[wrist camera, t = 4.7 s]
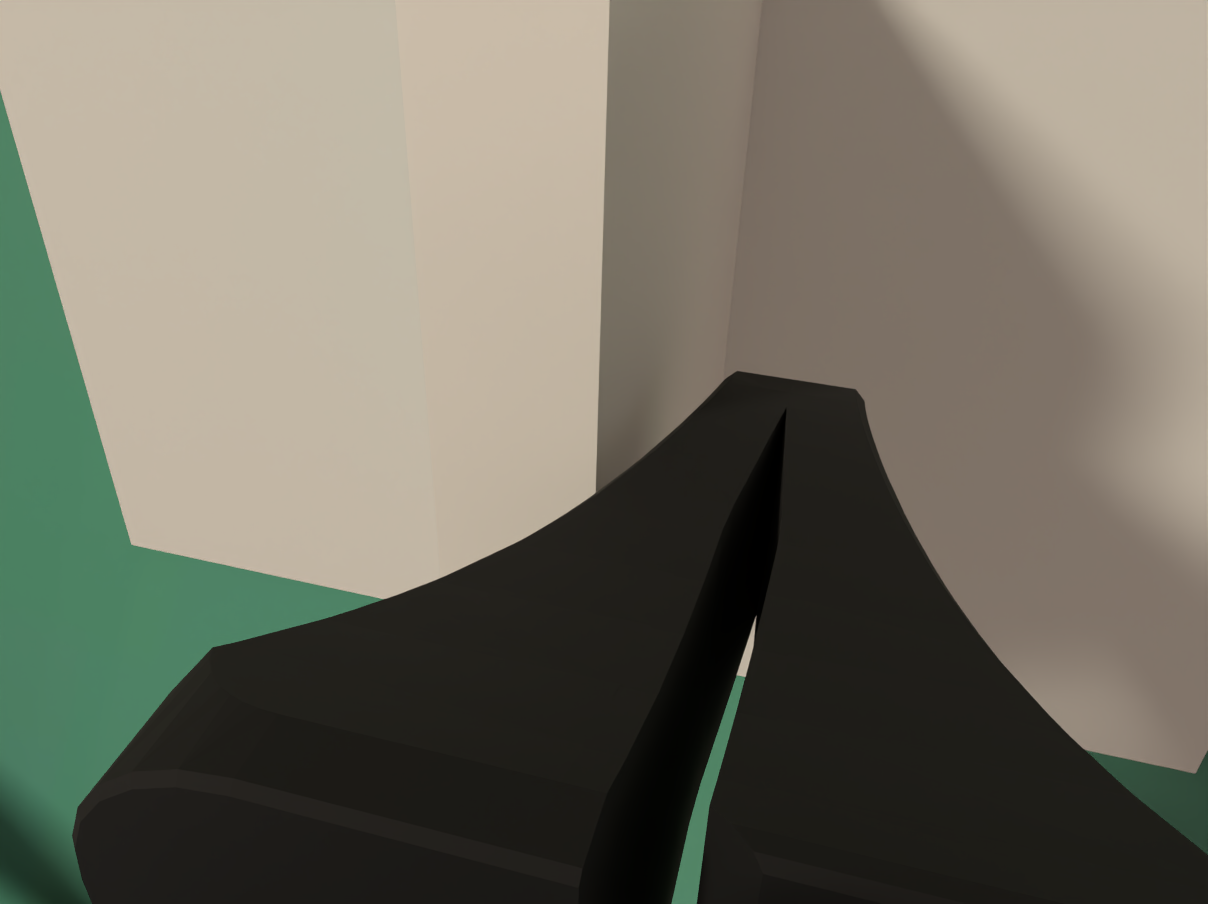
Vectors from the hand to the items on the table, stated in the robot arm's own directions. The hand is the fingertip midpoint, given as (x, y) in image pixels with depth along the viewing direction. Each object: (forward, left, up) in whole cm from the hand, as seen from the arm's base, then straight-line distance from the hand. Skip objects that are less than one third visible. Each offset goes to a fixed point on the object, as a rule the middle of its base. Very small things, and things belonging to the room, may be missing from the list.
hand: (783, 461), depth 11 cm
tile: (+2, 0, -6) cm, 6 cm away
